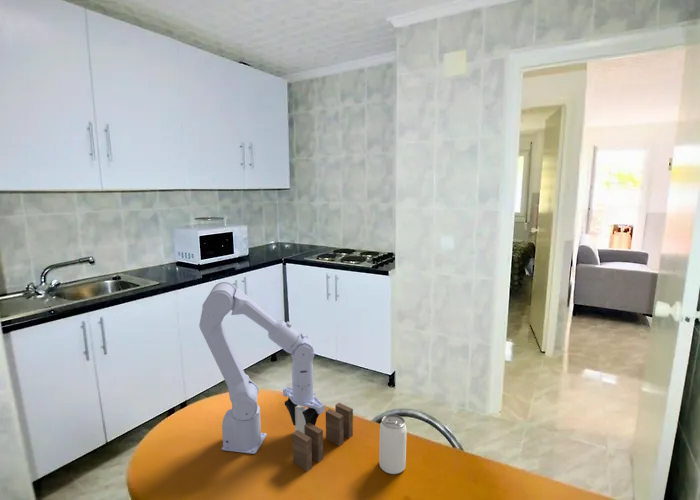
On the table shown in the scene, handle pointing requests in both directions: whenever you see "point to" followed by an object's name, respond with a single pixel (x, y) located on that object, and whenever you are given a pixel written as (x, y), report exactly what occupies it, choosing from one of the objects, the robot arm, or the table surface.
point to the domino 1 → (299, 418)
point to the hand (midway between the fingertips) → (303, 427)
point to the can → (392, 444)
